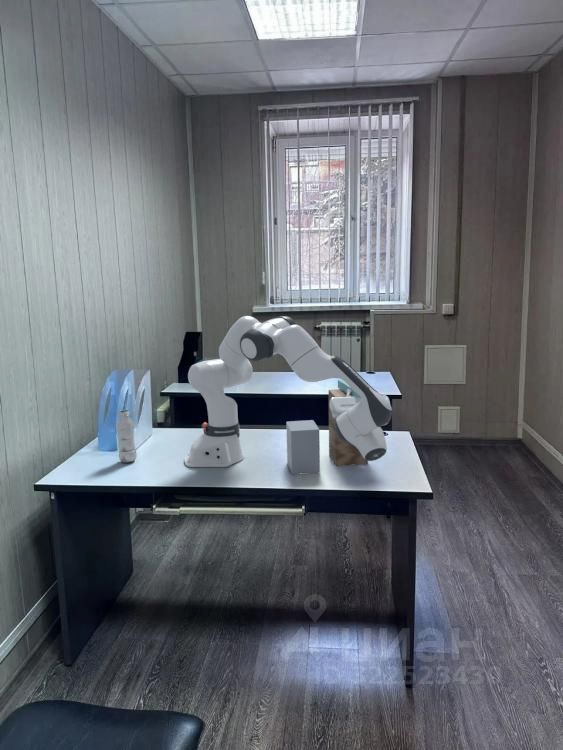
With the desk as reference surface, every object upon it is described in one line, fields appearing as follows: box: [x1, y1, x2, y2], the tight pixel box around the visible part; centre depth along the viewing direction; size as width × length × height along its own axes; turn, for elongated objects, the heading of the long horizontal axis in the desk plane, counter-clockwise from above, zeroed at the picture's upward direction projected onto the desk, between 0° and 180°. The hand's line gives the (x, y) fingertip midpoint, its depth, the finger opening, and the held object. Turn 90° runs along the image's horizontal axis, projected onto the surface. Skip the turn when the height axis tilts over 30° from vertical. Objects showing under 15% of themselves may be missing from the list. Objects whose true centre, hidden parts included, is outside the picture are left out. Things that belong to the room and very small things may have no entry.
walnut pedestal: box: [328, 388, 369, 467], centre depth 202 cm, size 12×12×26 cm
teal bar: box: [337, 379, 361, 398], centre depth 196 cm, size 3×26×3 cm, turn 7°
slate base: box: [285, 419, 321, 475], centre depth 196 cm, size 10×12×16 cm
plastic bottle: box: [115, 409, 138, 464], centre depth 207 cm, size 6×7×20 cm
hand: (355, 390), depth 189 cm, fingers closed on teal bar, 3 cm apart
